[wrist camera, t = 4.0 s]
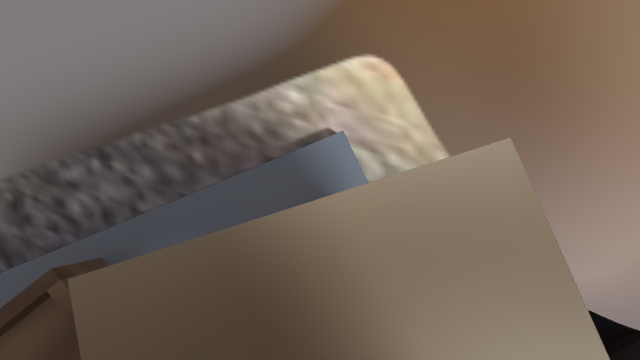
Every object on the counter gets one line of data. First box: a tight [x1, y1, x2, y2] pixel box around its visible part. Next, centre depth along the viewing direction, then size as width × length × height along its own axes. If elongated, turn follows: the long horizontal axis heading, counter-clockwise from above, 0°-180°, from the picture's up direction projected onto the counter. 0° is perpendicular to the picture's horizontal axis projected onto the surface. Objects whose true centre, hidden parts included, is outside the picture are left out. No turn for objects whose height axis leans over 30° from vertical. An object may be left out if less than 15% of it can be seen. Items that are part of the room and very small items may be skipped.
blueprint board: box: [0, 131, 368, 308], centre depth 14 cm, size 16×24×1 cm, turn 115°
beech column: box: [68, 138, 610, 360], centre depth 8 cm, size 5×5×12 cm
